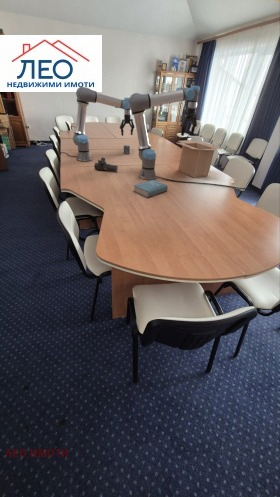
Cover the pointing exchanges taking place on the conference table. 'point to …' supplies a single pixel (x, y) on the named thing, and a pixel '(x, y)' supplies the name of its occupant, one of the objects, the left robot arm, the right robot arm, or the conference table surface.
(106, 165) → the laser sight
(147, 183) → the book
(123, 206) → the conference table surface
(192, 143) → the box
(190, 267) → the conference table surface
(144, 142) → the right robot arm
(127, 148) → the brick
